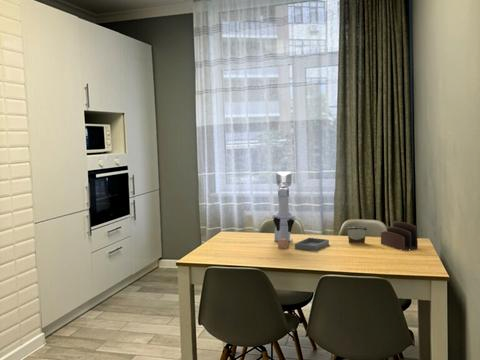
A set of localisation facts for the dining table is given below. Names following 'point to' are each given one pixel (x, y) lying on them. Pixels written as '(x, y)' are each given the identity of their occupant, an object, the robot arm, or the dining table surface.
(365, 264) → the dining table surface
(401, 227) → the letter holder
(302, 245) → the baking dish
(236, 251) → the dining table surface
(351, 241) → the food container
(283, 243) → the terracotta block
